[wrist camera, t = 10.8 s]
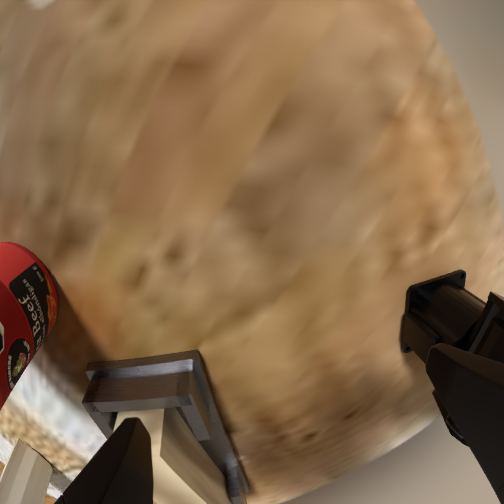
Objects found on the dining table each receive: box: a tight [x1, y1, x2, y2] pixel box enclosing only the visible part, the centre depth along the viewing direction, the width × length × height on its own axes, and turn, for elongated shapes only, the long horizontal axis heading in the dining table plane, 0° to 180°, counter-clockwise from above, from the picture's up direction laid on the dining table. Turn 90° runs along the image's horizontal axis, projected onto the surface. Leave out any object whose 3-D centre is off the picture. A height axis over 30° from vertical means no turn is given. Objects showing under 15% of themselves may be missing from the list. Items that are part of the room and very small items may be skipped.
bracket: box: [82, 350, 250, 504], centre depth 22 cm, size 9×22×4 cm, turn 9°
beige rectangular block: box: [113, 407, 233, 504], centre depth 20 cm, size 4×16×6 cm, turn 15°
